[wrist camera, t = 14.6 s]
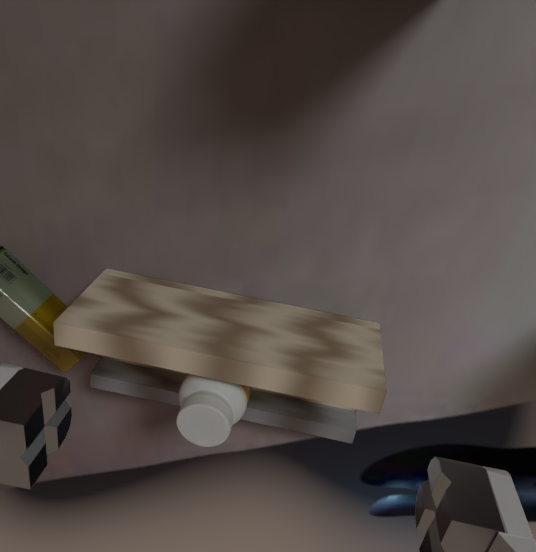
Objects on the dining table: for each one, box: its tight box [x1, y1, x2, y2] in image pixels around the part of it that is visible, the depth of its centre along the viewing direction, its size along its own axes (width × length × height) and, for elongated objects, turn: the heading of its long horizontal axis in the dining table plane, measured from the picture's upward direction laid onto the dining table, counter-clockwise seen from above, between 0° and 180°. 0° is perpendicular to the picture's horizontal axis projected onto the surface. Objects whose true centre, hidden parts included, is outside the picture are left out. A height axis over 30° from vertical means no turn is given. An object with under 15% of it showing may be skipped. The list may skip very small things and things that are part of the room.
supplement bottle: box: [177, 373, 252, 447], centre depth 41 cm, size 5×5×10 cm
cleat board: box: [53, 268, 387, 443], centre depth 42 cm, size 24×11×9 cm, turn 81°
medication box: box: [0, 246, 85, 372], centre depth 45 cm, size 12×3×4 cm, turn 41°
